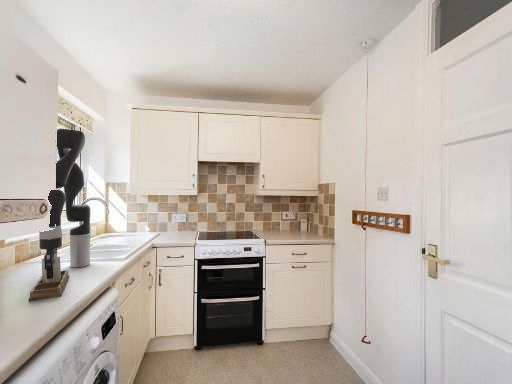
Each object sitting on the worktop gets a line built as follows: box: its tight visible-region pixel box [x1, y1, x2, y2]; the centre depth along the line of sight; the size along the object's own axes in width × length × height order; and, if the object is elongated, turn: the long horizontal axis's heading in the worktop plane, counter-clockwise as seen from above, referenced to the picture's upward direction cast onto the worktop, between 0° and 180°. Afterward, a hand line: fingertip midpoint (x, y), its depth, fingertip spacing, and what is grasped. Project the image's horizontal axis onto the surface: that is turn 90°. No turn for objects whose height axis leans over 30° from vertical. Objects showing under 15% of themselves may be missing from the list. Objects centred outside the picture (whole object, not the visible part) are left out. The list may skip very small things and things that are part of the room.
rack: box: [28, 269, 70, 302], centre depth 113 cm, size 26×10×4 cm, turn 29°
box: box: [41, 255, 62, 283], centre depth 113 cm, size 5×4×11 cm
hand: (51, 275), depth 113 cm, fingers closed on box, 6 cm apart
